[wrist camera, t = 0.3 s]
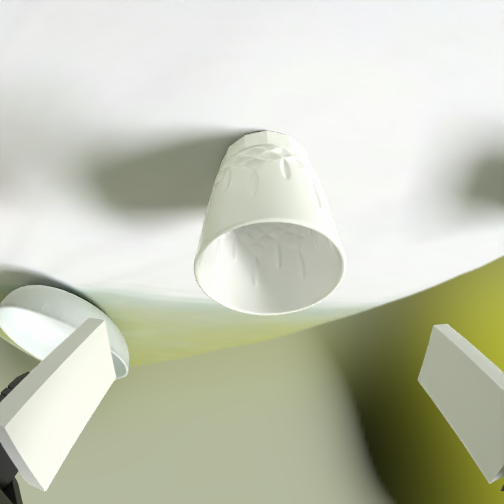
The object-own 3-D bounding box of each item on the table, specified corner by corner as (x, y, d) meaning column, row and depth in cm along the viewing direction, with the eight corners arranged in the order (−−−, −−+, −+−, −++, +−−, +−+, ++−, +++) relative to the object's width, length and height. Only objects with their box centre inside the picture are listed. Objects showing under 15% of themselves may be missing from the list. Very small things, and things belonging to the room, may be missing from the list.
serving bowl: (50, 241, 29) (25, 292, 24) (166, 331, 42) (159, 376, 38) (-4, 285, 36) (-20, 322, 31) (86, 348, 49) (78, 381, 45)
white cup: (312, 210, 26) (330, 314, 19) (217, 210, 26) (204, 315, 19) (323, 124, 20) (363, 219, 13) (208, 123, 20) (181, 219, 13)
